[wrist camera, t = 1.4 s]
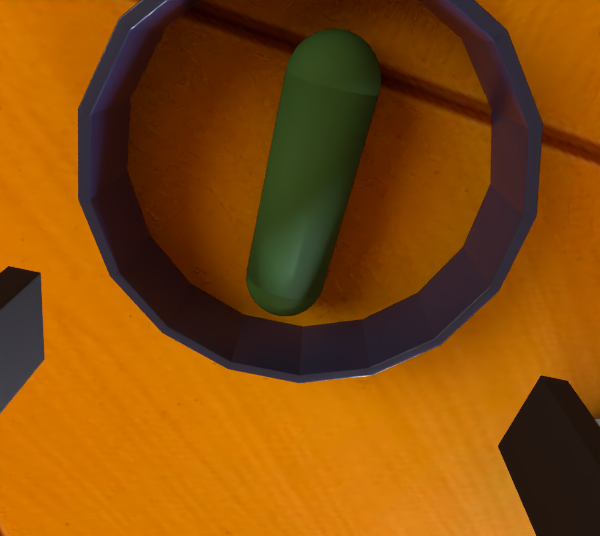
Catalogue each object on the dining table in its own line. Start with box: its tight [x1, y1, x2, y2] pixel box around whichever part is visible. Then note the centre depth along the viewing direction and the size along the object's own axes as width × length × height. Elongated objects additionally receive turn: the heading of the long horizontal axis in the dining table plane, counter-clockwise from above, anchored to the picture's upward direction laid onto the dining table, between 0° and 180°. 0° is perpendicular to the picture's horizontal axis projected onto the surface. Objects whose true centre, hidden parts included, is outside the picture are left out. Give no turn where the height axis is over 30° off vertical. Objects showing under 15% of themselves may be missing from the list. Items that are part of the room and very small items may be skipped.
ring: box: [78, 0, 543, 383], centre depth 25 cm, size 22×22×5 cm
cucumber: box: [246, 29, 381, 316], centre depth 25 cm, size 16×5×5 cm, turn 167°
